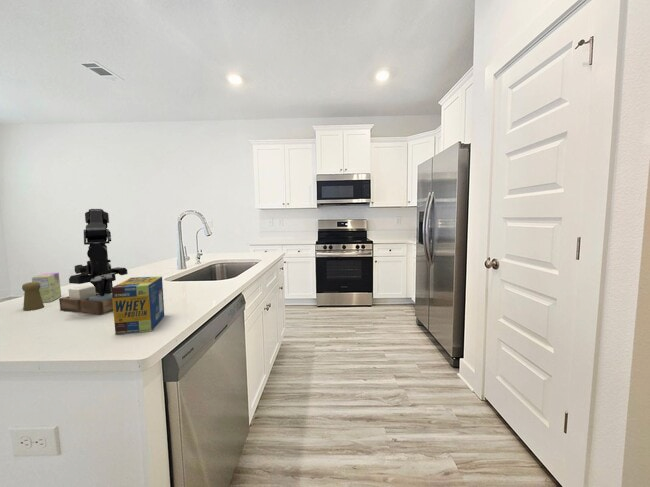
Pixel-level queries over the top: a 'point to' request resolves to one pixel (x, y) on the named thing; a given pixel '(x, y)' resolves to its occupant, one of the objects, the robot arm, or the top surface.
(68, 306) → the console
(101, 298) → the slate key
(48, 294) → the box
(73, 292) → the cream block
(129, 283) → the protein box
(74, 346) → the top surface
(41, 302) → the cork
